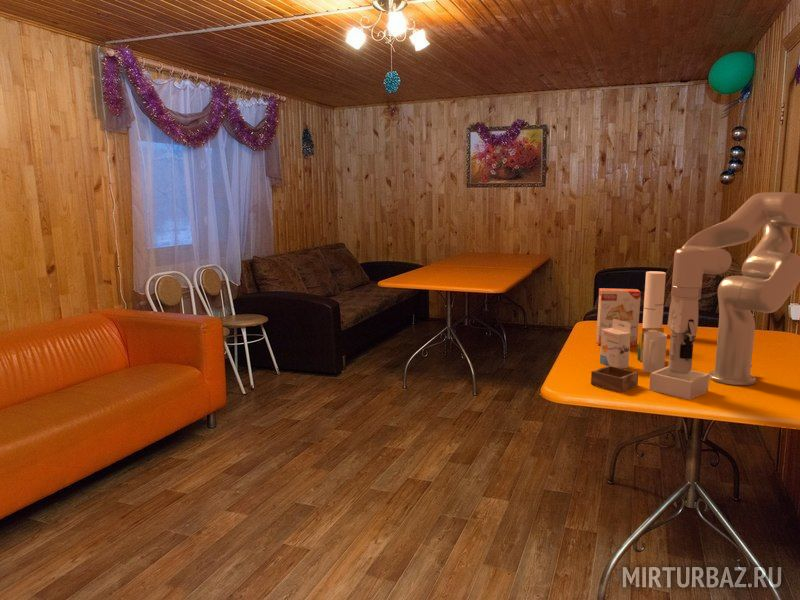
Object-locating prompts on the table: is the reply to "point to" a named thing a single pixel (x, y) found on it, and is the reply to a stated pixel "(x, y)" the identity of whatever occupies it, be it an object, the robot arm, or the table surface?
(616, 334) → the ink box
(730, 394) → the table surface
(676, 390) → the grey bin
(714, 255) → the robot arm
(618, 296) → the cracker box
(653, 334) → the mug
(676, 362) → the energy drink can
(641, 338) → the crayon box
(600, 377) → the walnut holder
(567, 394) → the table surface
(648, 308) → the cylindrical container
